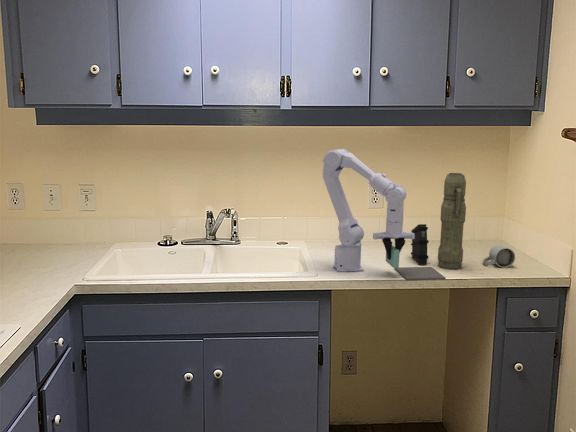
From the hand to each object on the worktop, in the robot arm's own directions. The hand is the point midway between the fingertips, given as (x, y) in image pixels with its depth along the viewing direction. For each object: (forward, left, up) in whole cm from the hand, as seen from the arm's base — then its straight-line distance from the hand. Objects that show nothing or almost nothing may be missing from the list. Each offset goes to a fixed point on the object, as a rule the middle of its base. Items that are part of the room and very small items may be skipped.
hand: (392, 258), depth 204 cm
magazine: (+16, +18, -6) cm, 25 cm away
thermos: (+25, +9, -6) cm, 27 cm away
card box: (0, 0, -2) cm, 2 cm away
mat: (+10, 0, -6) cm, 12 cm away
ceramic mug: (+44, +9, -6) cm, 45 cm away
